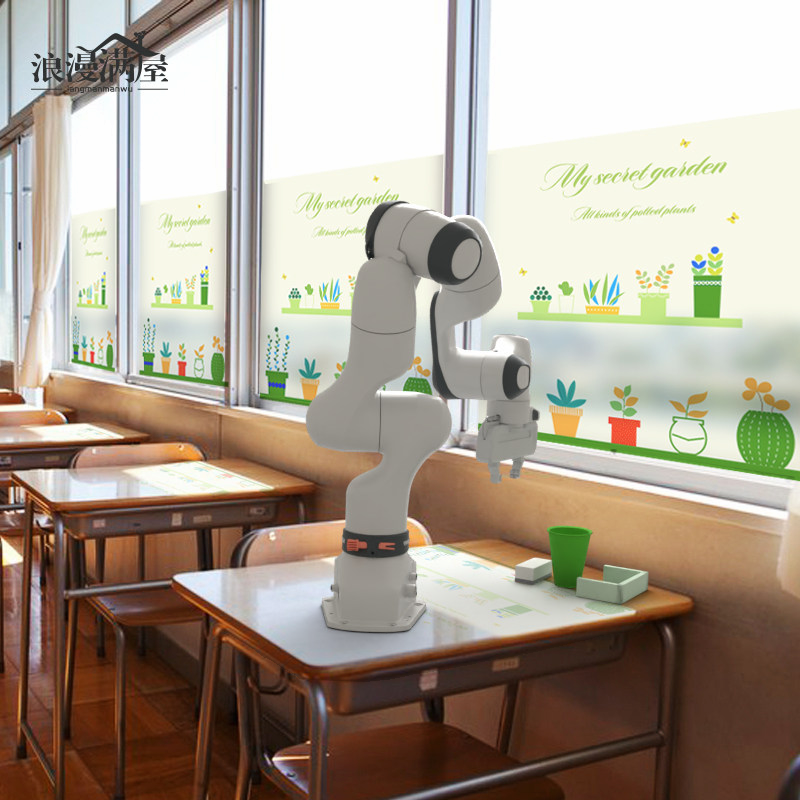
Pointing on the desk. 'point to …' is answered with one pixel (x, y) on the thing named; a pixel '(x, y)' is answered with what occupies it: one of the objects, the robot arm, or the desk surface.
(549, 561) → the eraser
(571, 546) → the cup
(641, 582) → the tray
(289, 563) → the desk surface
